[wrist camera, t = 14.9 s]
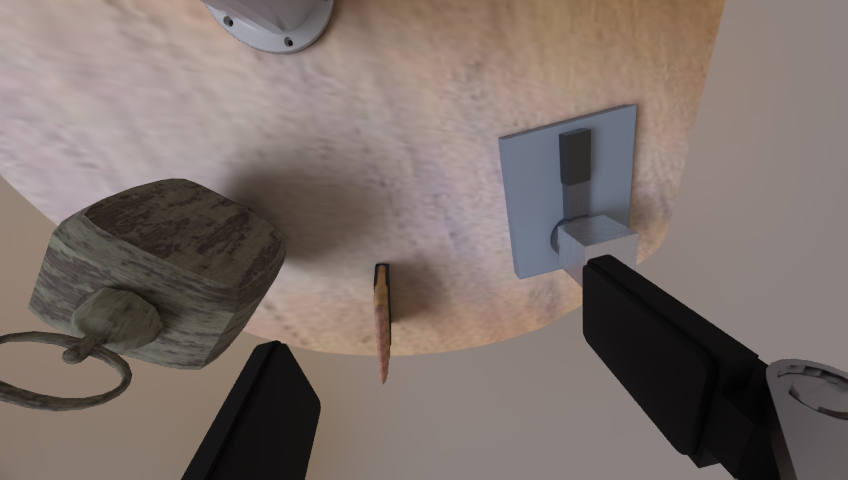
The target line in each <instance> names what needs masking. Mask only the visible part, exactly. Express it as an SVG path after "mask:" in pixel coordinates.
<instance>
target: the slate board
mask: <svg viewBox="0 0 848 480" xmlns="http://www.w3.org/2000/svg"><path fill="white" fill-rule="evenodd" d="M636 107H637V105H622V106H618V107H614V108H610V109H607V110H603V111H599V112H595V113H591V114H588V115H584V116H580V117H576V118H572V119H569V120H565V121H561V122H557V123H553V124H550V125H546V126H542V127H538V128H535V129H531V130H527V131H523V132H519V133H516V134H512V135H508V136H504V137H500V138H498V141H499V149H500V157H501V165H502V173H503V181H504V189H505V197H506V205H507V214H508V222H509V230H510V238H511V246H512V254H513V262H514V270H515V273H516V275H517V276H518V278H519V279H524V278H528V277H532V276H535V275H539V274H543V273H547V272H551V271H555V270H559V269H562V268H561V267H560V264H559V255H558V254H557V253H556V252H555V251H554V250H553V249H552V247H551V244H550V237H551V233H552V230H553V229H554V227H555V226H556V224H557V223H558V222H559V221H560V220H562V219H563V191H562V183H561V179H560V153H559V134H561V133H565V132H569V131H573V130H577V129H580V128H585V129H591V180H590V181H587V216H589V217H590V218H592V217H596V216H600V215H605V216H607V217H609V218H611V219H613V220H615V221H617V222H618V223H620V224H622V225H624V226H626V227H628V226H629V211H630V196H631V181H632V166H633V151H634V136H635V122H636Z"/></svg>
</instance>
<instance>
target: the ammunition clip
mask: <svg viewBox="0 0 848 480" xmlns="http://www.w3.org/2000/svg"><path fill="white" fill-rule="evenodd" d="M374 305H375V320H376V338H377V352H378V364H379V377H380V381H381V383H382V384H384V383H385V381H386V378H387V374H388V365H389V358H390V345H391V306H390V284H389V265H388V264H376V265H375V276H374Z"/></svg>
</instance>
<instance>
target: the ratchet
mask: <svg viewBox="0 0 848 480" xmlns="http://www.w3.org/2000/svg"><path fill="white" fill-rule="evenodd" d="M559 153H560V179H561V183H562V191H563V219H562V220H560V221H559V222H558V223H557V224H556V226H555V227H554V229H553V230H552V233H551V237H550V244H551V247H552V249H553V250H554V251H555V252H556V253H557V254H558V255H559V244H558V226H562V225H566V224H569V223H573V222H577V221H581V220H585V219H588V218H590V217H589V216H587V181H590V180H591V129H585V128H580V129H577V130H573V131H569V132H565V133H561V134H559Z"/></svg>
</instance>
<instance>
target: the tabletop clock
mask: <svg viewBox="0 0 848 480" xmlns="http://www.w3.org/2000/svg"><path fill="white" fill-rule="evenodd" d="M285 255H286V251H285V241H284V233H283V232H282V231H281V230H279V229H278V228H277V227H276V226H274V225H273V224H271V223H270V222H268V221H266V220H265V219H263V218H261V217H259V216H258V215H256V214H254V213H253V212H252V211H251V209H250V208H249V207H247V206H241V205H239V204H237V203H235V202H233V201H231V200H229V199H227V198H225V197H223V196H221V195H220V194H218V193H216V192H214V191H212V190H210V189H208V188H206V187H204V186H202V185H199V184H197V183H195V182H192V181H189V180H186V179H166V180H160V181H156V182H152V183H148V184H144V185H141V186H137V187H133V188H130V189H128V190H125V191H123V192H120V193H117V194H115V195H112V196H110V197H107V198H105V199H102V200H100V201H98V202H96V203H94V204H92V205H90V206H88V207H86V208H84V209H82V210H81V211H79V212H77V213H75V214H73V215H72V216H70V217H68V218H67V219H65V220H64V221H62V222H61V223H60V225H59V226H58V227H57V228H56V229H55V231H54V232H53V233H52V236H51V239H50V242H49V245H48V248H47V251H46V254H45V257H44V260H43V263H42V267H41V270H40V272H39V276H38V278H37V281H36V285H35V288H34V291H33V294H32V297H31V300H30V303H29V306H28V309H29V310H30V311H31V312H33V313H34V314H35V315H36V316H37V317H38V318H39V319H40V320H41V321H43V322H45V323H46V324H48V325H50V326H51V327H53V328H56V329H58V330H60V331H62V332H64V333H67V334H70V335H72V336H69V335H64V334H58V333H47V332H35V331H32V332H23V333H13V334H7V335H4V336H0V344H2V343H6V342H18V341H19V342H20V341H21V342H22V341H32V342H40V343H47V344H55V345H59V346H62V347H65V348H68V349H67V350H66V351H65V352H64V353H63V355H62V360H63V361H64V362H66V363H67V364H76V363H79V362H82V361H83V360H84V359H86V358H87V357H88V356H89V355H90V356H92V357H95V358H98V359H101V360H103V361H105V362H106V363H107V364H109V365H110V366H112V367H113V368H115V369H116V370H117V371H118V373H119V374H120V376H121V377H122V381H121V383H120V385H119V386H118V387H117V388H115V389H114V390H112V391H110V392H107V393H105V394H102V395H97V396H92V397H87V398H59V397H53V396H48V395H42V394H37V393H34V392H30V391H27V390H24V389H20V388H17V387H14V386H12V385H10V384H7V383H5V382H2V381H0V401H4V402H8V403H12V404H15V405H19V406H23V407H26V408H33V409H40V410H49V411H67V410H81V409H85V408H89V407H93V406H97V405H101V404H104V403H106V402H108V401H110V400H112V399H114V398H115V397H117V396H119V395H120V394H121V393H122V392H124V391H125V390H126V389H127V387H128V386H129V384H130V382H131V378H132V373H131V370H130V367H129V364H128V363H127V362H126V361H125V360H124V359H122V358H121V357H120V356H119V355H118V354H121V355H125V356H128V357H132V358H136V359H140V360H143V361H147V362H150V363H154V364H157V365H161V366H165V367H170V368H177V369H201V368H203V367H205V366H206V365H208V364H209V363H211V362H212V361H214V360H215V359H217V358H218V357H219V356H220V355H221V354H222V353H223V352H224V351H225V350H226V349H227V348H228V347H229V346H230V344H231V343H232V342H233V341H234V339H235V338H236V337H237V336H238V335H239V333H240V332H241V331H242V330H243V328H244V327H245V326H246V324H247V322H248V321H249V319H250V318H251V316H252V315H253V313H254V312H255V310H256V308H257V307H258V305H259V304H260V302H261V301H262V299H263V297H264V296H265V294H266V293H267V291H268V290H269V288H270V286H271V285H272V283H273V282H274V280H275V279H276V277H277V275H278V273H279V271H280V269H281V267H282V264H283V262H284V259H285Z"/></svg>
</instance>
